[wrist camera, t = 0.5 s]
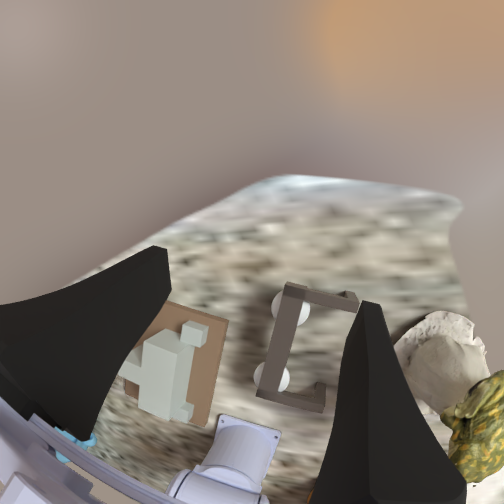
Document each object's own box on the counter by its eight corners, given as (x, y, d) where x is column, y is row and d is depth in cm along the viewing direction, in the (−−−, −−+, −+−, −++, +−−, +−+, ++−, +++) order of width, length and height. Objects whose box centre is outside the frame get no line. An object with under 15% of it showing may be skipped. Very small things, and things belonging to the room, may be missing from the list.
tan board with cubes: (129, 389, 39) (104, 408, 33) (139, 290, 38) (109, 300, 32) (207, 422, 37) (189, 448, 31) (228, 320, 35) (210, 337, 29)
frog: (360, 382, 32) (378, 496, 14) (429, 289, 30) (519, 342, 12) (428, 423, 30) (470, 525, 13) (493, 340, 28) (580, 406, 10)
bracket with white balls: (258, 374, 35) (248, 394, 30) (283, 274, 34) (276, 282, 29) (323, 391, 33) (321, 413, 28) (354, 292, 32) (359, 302, 27)
